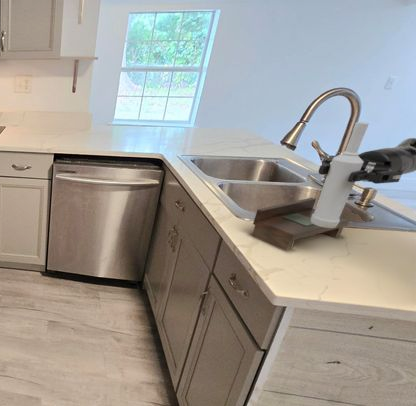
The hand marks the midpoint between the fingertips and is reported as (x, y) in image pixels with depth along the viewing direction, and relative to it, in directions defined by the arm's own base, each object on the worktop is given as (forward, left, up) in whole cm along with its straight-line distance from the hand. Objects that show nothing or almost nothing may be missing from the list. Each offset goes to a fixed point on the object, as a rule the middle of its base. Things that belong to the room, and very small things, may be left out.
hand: (336, 173), depth 84 cm
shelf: (+7, -8, -22) cm, 24 cm away
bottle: (0, -3, -14) cm, 14 cm away
